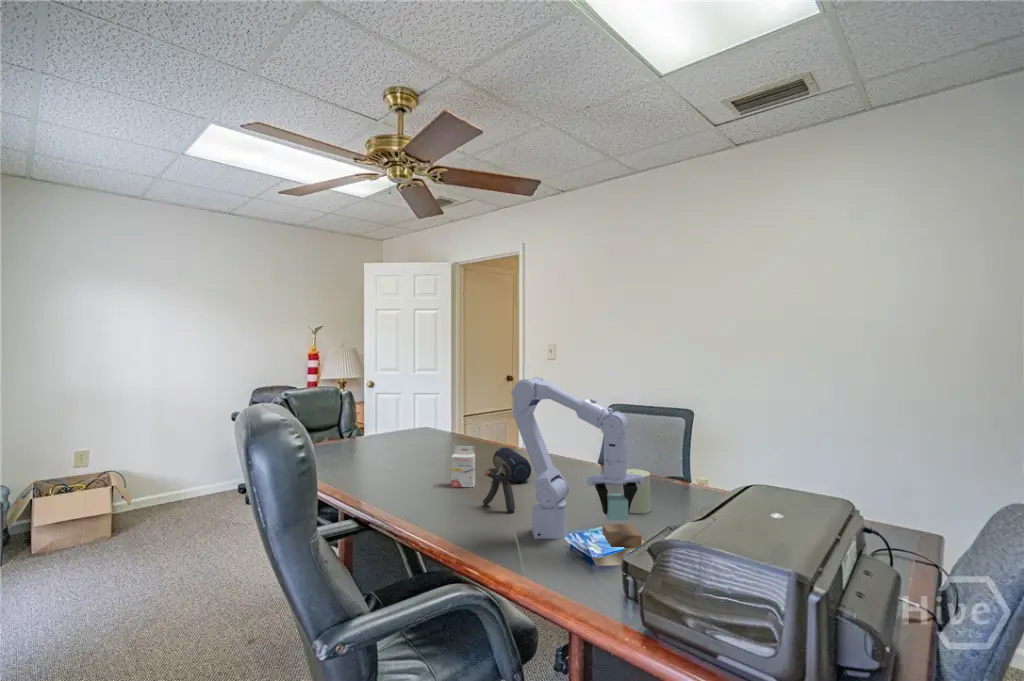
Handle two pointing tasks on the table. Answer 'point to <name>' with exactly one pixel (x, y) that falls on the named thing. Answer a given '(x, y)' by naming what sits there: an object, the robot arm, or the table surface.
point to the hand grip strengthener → (506, 487)
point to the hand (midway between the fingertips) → (615, 512)
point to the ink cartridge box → (463, 467)
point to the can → (640, 493)
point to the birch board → (613, 557)
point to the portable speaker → (512, 464)
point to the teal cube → (617, 507)
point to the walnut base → (622, 535)
